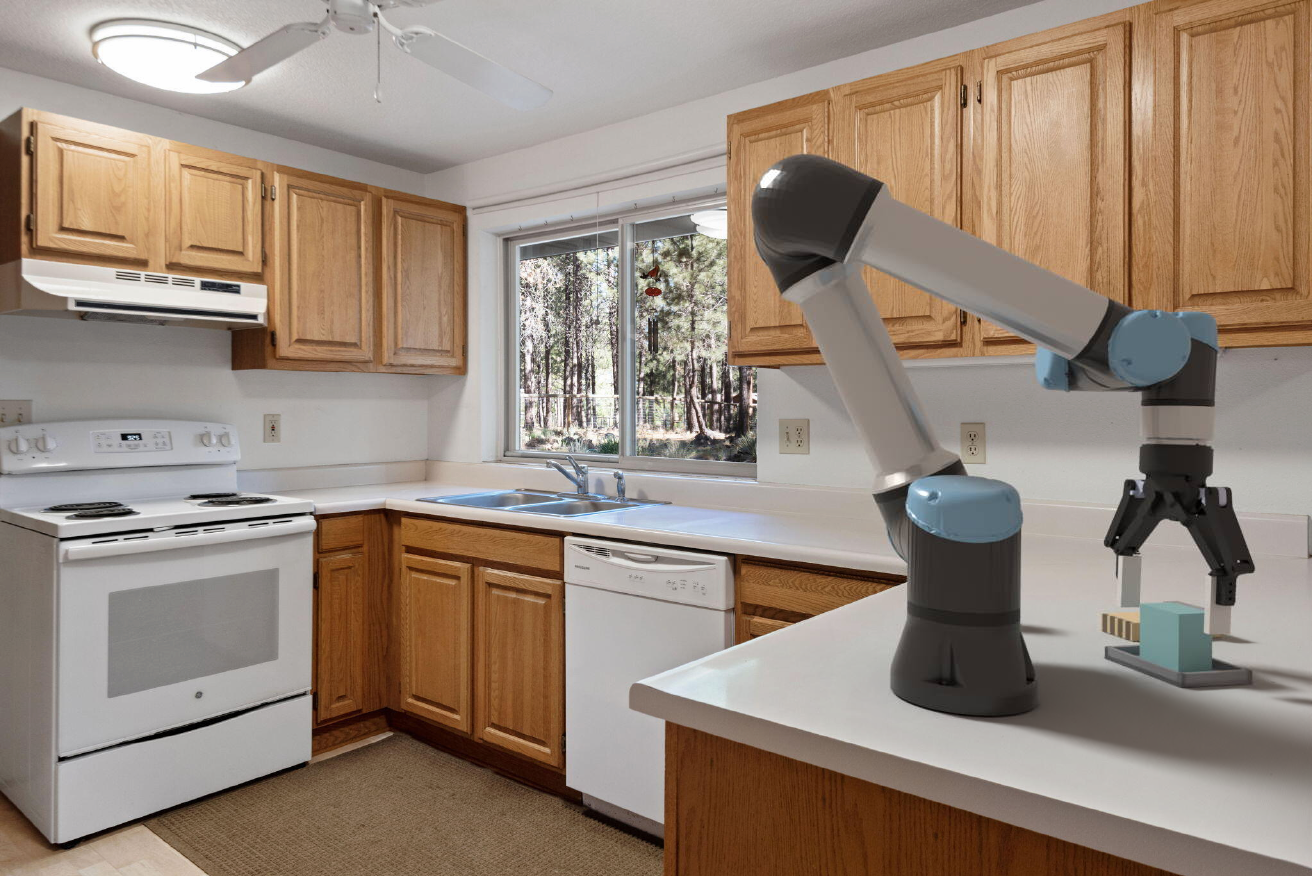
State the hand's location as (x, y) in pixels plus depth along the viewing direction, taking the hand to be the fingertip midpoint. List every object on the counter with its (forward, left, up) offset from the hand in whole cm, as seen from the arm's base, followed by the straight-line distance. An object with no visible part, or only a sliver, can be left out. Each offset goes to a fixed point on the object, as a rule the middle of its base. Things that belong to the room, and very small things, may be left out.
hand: (1169, 619), depth 99 cm
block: (+1, 0, -6) cm, 6 cm away
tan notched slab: (+13, +16, -6) cm, 21 cm away
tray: (+1, 0, -6) cm, 6 cm away
